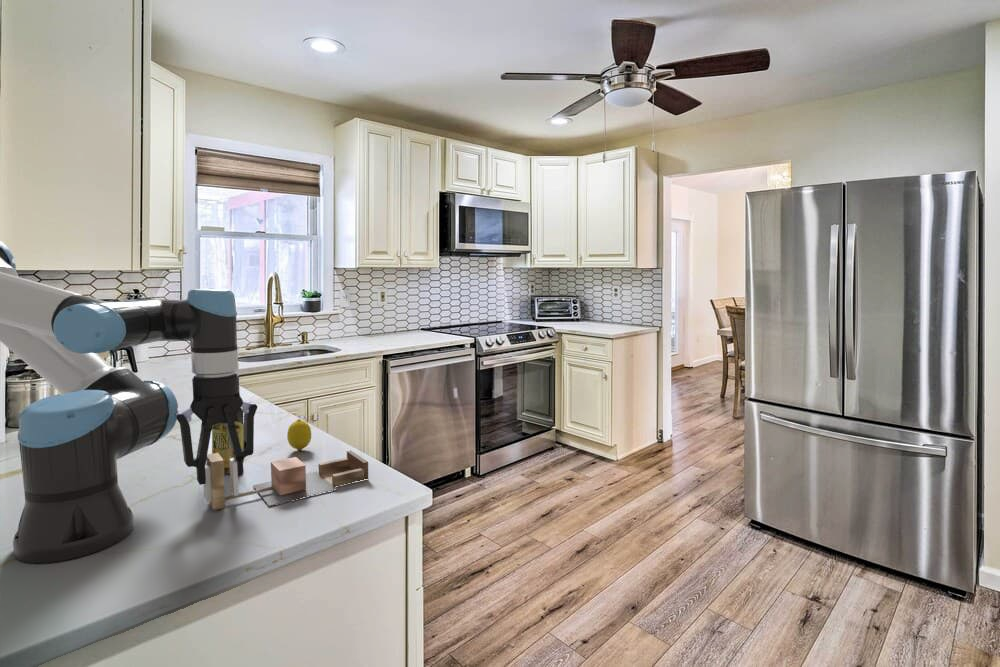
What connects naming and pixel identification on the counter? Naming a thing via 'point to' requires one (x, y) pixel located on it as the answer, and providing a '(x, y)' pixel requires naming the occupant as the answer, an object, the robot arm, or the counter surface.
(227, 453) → the sauce bottle
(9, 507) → the counter surface
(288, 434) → the lemon
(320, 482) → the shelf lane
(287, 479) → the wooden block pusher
